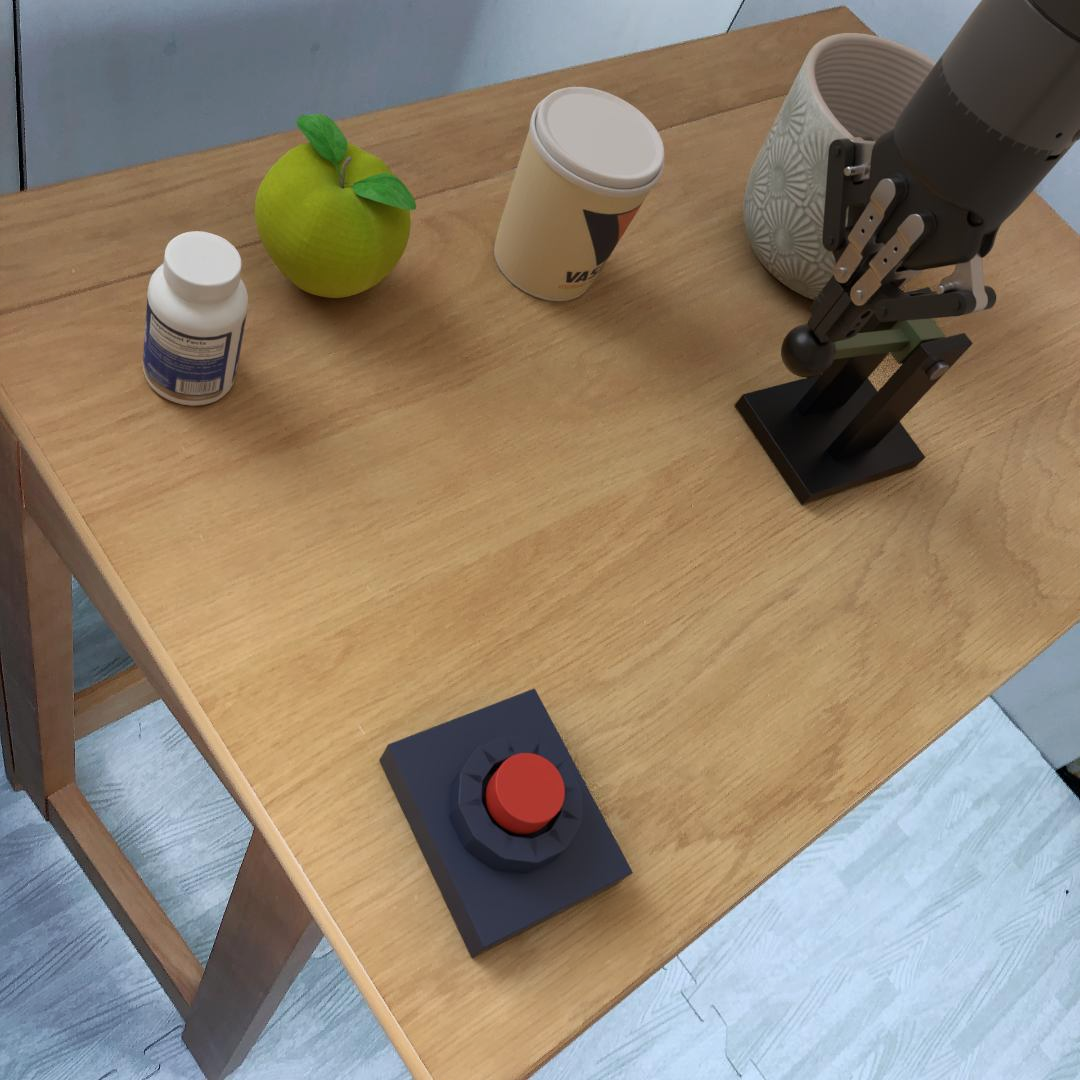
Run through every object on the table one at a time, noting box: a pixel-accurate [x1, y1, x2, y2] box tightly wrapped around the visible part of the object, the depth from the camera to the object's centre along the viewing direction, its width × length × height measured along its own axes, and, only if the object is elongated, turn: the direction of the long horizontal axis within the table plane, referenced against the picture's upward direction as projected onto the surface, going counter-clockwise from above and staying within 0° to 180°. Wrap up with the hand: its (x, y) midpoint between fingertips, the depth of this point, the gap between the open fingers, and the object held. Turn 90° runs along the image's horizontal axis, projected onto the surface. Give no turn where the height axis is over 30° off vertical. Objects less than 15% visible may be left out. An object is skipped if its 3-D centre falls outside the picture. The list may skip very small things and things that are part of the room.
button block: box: [378, 688, 633, 959], centre depth 59 cm, size 11×9×4 cm
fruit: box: [254, 113, 417, 299], centre depth 73 cm, size 9×9×10 cm
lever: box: [780, 318, 947, 378], centre depth 73 cm, size 14×3×3 cm, turn 119°
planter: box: [742, 32, 938, 301], centre depth 89 cm, size 17×17×15 cm
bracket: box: [734, 287, 974, 506], centre depth 80 cm, size 12×9×13 cm
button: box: [486, 753, 565, 834], centre depth 57 cm, size 4×4×2 cm
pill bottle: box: [142, 230, 249, 407], centre depth 65 cm, size 5×5×10 cm
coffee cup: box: [493, 86, 665, 302], centre depth 80 cm, size 9×9×12 cm
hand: (824, 331), depth 68 cm, fingers closed
